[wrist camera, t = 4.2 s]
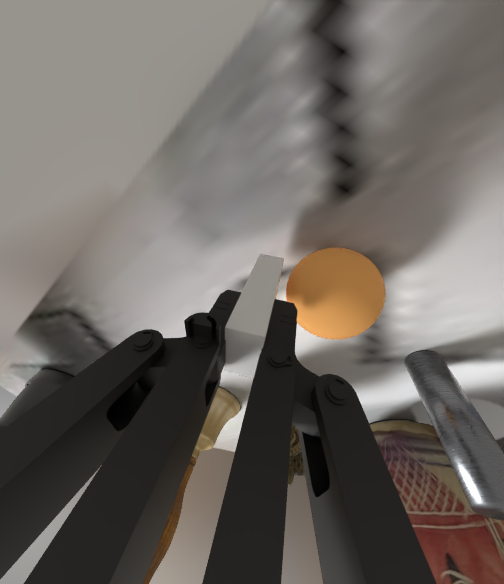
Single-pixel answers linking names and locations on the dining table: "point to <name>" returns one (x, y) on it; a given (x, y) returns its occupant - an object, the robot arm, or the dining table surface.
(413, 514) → the ceramic jug
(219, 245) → the dining table surface
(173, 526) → the hand bell
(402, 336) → the dining table surface
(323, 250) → the ball
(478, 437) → the gate post
